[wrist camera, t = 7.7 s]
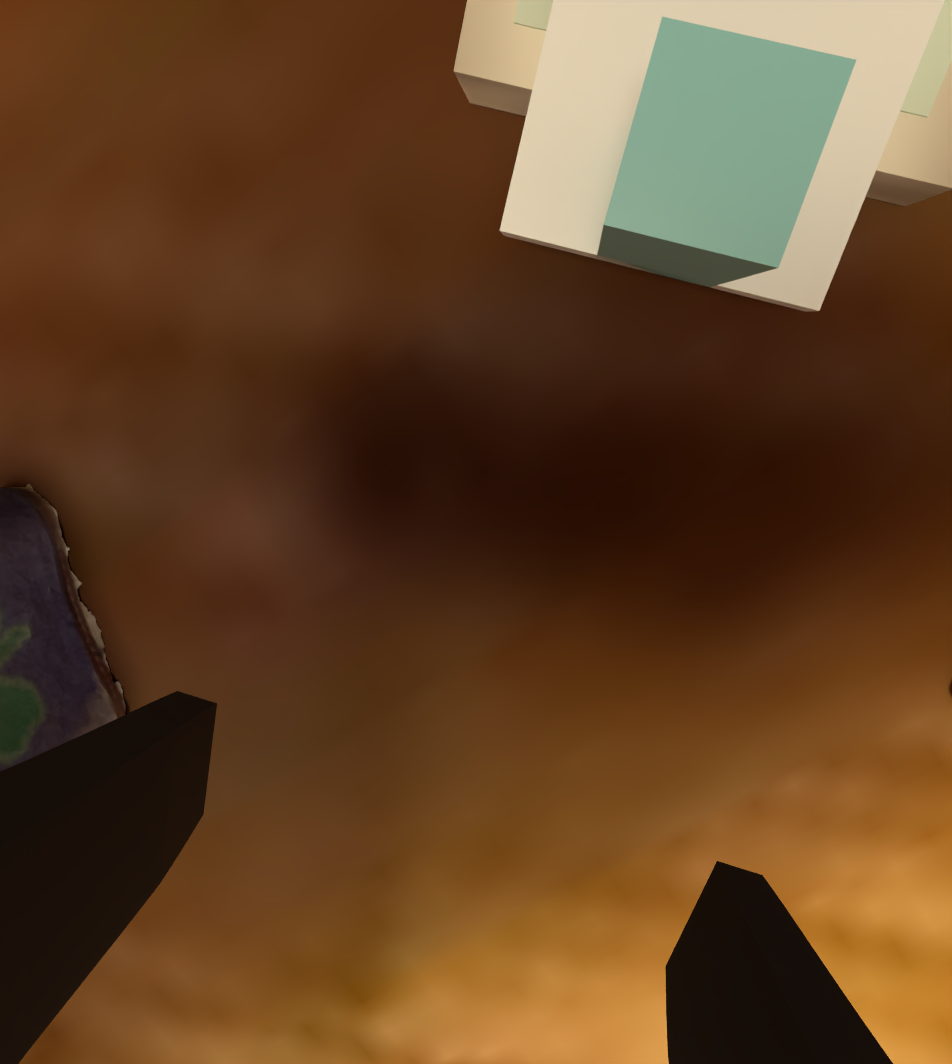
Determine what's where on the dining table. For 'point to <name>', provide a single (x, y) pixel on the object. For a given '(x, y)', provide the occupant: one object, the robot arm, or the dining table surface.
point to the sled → (713, 135)
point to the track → (905, 166)
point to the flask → (45, 638)
